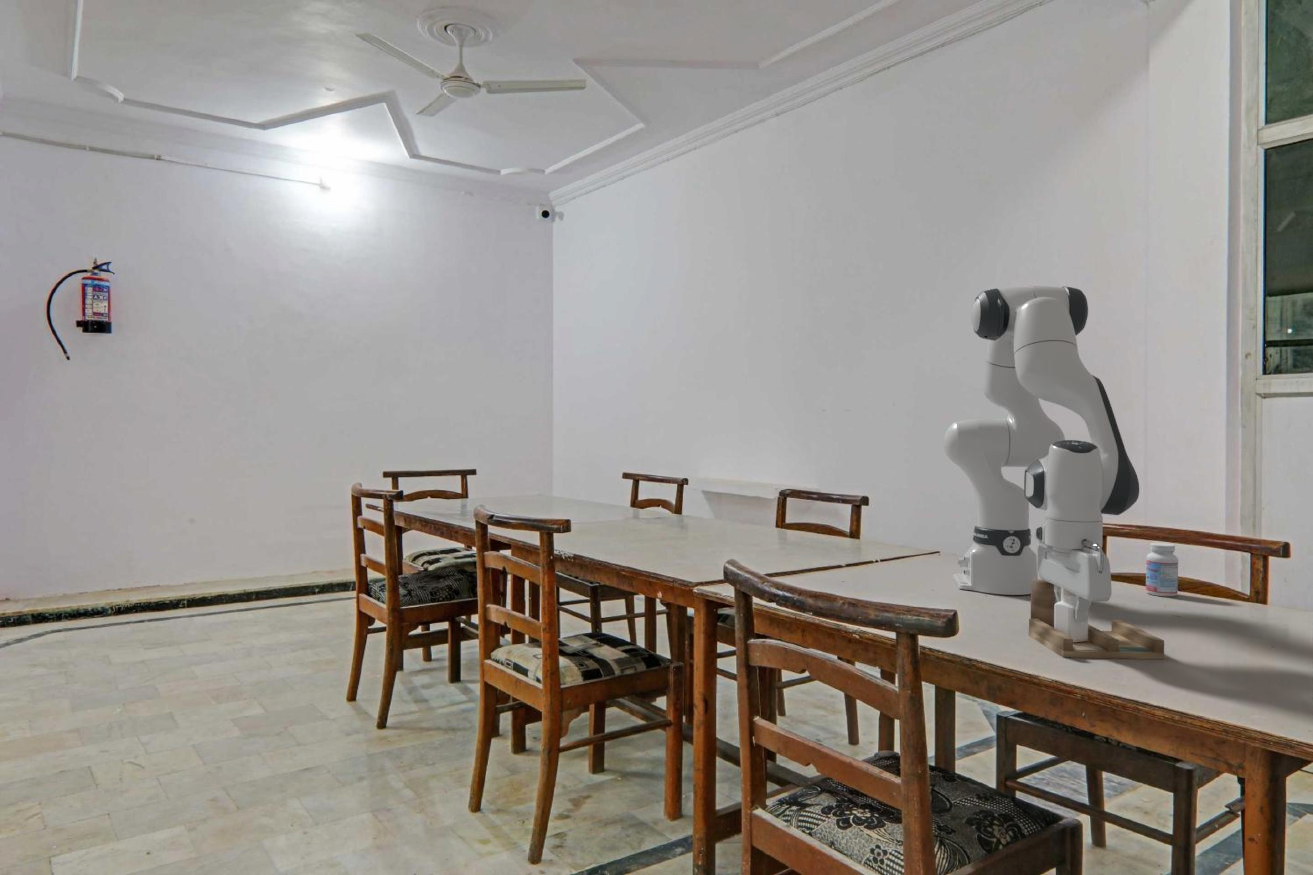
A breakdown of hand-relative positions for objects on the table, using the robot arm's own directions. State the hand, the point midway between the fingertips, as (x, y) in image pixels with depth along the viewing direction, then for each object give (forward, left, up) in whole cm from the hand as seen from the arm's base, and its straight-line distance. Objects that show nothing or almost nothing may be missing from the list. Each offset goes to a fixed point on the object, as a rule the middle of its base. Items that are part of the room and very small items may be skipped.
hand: (1071, 616), depth 143 cm
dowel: (-11, 0, -5) cm, 12 cm away
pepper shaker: (0, 0, -4) cm, 4 cm away
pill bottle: (-45, +40, -5) cm, 60 cm away
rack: (0, +4, -5) cm, 6 cm away
